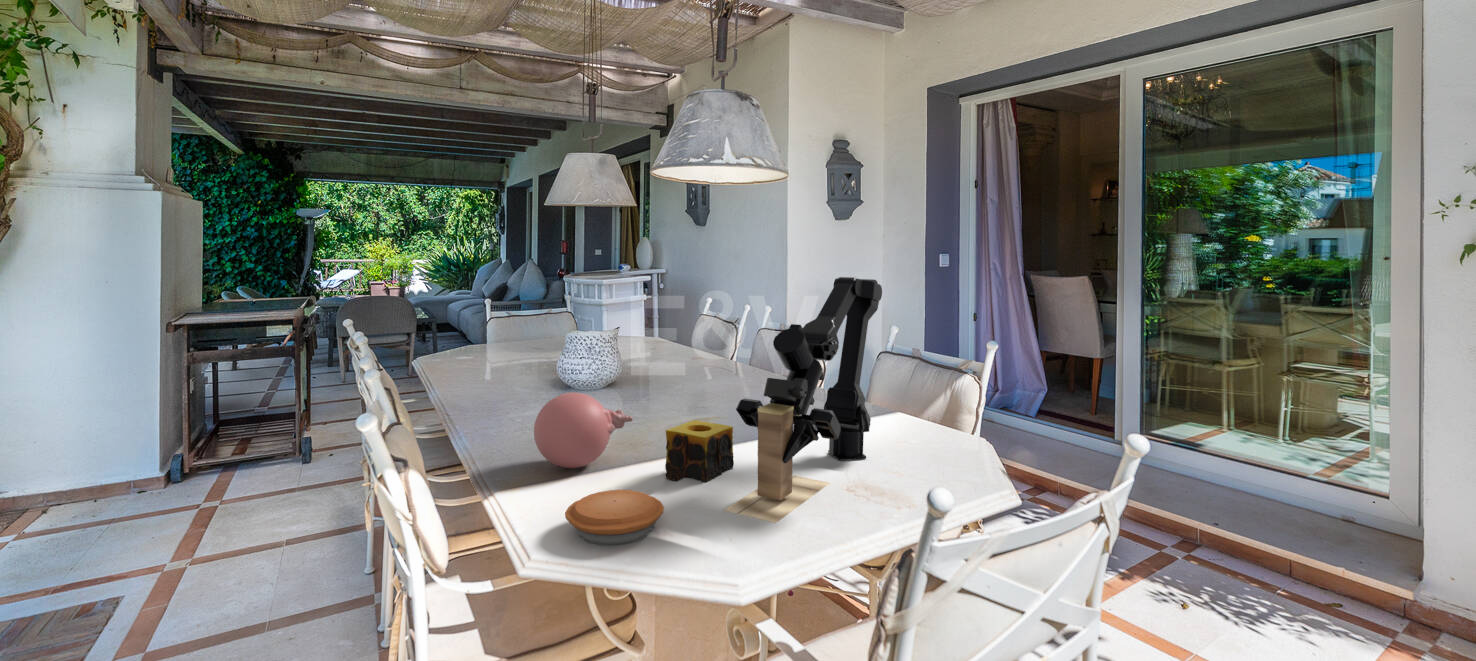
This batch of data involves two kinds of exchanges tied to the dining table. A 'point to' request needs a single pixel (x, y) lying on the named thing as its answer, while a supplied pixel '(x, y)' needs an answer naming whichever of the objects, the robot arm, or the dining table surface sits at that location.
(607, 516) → the pie
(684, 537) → the dining table surface
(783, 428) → the tall wooden pillar
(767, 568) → the dining table surface
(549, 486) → the dining table surface
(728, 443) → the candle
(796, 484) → the board
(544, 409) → the balloon
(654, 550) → the dining table surface
